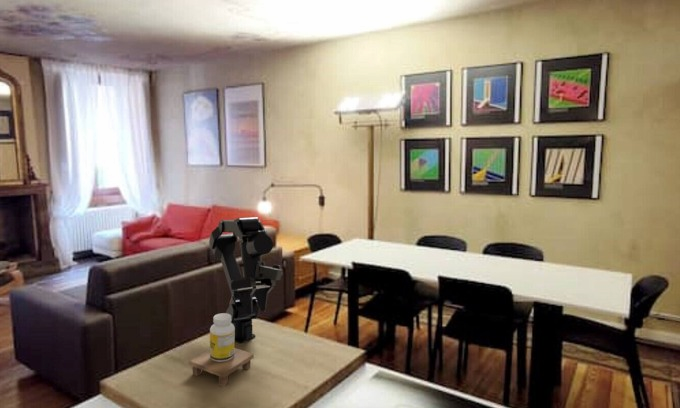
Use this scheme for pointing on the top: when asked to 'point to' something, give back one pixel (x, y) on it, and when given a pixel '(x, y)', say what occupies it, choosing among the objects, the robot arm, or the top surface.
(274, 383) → the top surface
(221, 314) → the pill bottle
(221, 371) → the small wooden stand
